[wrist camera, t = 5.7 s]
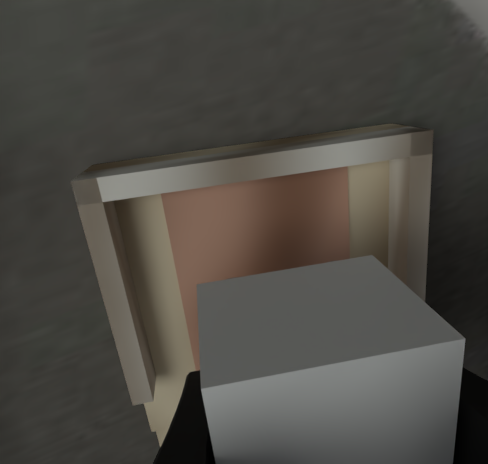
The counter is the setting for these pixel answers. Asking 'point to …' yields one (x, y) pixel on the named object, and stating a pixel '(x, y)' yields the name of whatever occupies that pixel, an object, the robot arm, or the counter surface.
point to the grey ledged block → (327, 368)
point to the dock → (243, 232)
